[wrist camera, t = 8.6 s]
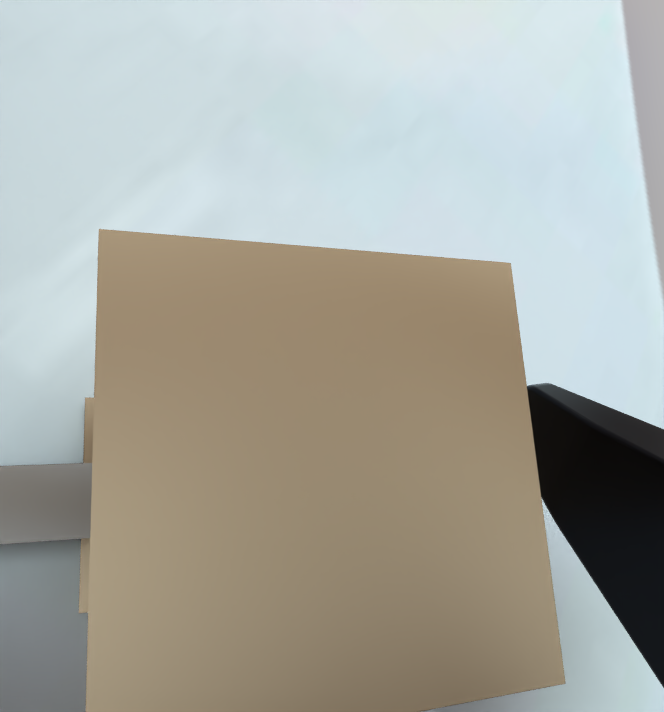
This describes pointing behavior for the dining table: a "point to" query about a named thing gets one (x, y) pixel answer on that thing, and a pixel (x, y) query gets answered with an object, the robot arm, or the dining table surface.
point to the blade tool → (301, 483)
